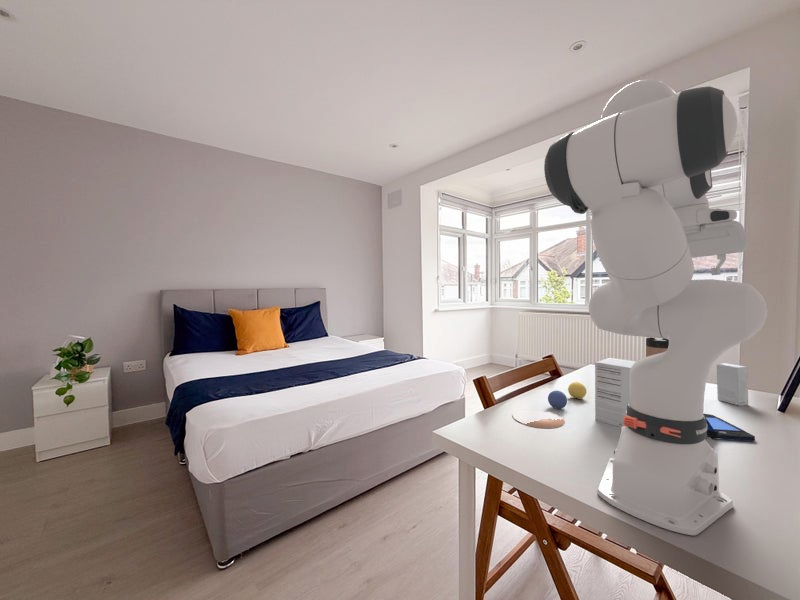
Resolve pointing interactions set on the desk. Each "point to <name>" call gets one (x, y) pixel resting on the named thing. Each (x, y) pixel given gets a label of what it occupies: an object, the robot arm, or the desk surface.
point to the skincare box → (732, 384)
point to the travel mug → (656, 346)
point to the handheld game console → (725, 430)
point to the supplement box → (612, 390)
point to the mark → (547, 423)
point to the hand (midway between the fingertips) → (689, 276)
